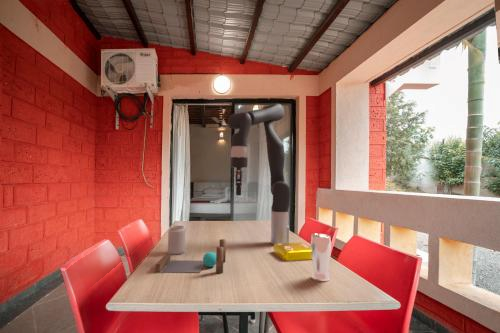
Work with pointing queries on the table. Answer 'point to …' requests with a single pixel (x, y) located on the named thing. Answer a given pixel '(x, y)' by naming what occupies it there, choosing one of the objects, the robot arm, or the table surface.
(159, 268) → the strip
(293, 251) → the element tile
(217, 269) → the post
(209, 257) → the ball
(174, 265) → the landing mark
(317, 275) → the silver metal tumbler
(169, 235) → the can
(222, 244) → the post
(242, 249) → the table surface
